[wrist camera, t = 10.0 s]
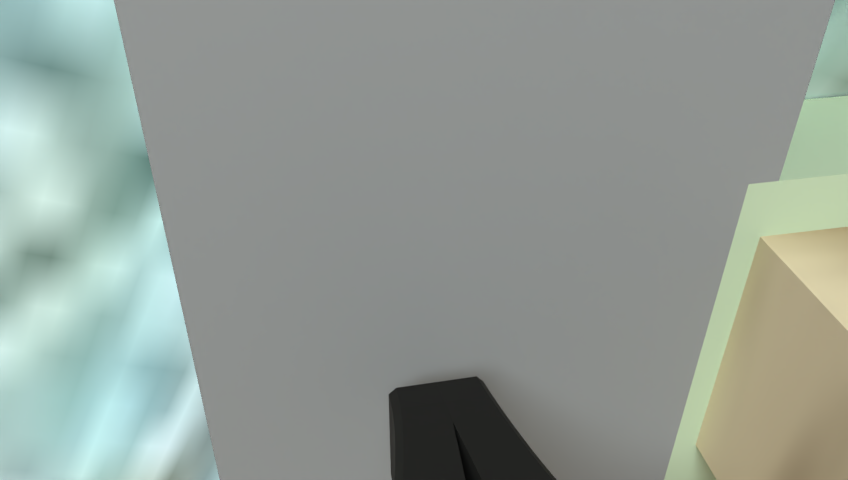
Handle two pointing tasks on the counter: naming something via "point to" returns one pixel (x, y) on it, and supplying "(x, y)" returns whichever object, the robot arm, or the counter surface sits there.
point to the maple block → (785, 366)
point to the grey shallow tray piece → (475, 212)
